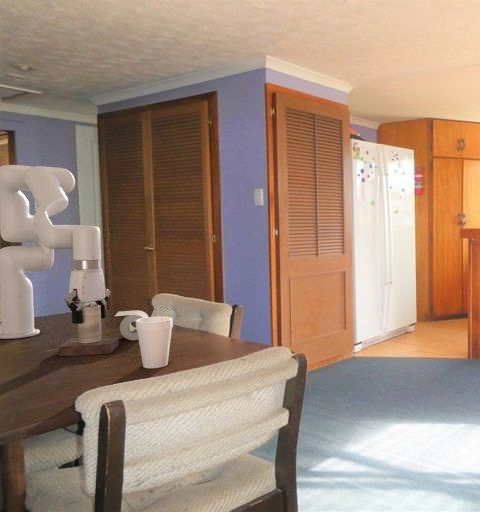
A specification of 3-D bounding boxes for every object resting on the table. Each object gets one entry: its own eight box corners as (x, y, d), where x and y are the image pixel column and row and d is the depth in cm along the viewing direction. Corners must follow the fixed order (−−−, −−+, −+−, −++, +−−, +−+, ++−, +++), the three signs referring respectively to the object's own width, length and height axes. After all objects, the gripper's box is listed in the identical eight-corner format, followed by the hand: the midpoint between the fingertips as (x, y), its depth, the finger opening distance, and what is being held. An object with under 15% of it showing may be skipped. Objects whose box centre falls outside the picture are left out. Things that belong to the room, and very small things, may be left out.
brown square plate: (58, 356, 157) (58, 346, 157) (70, 347, 169) (70, 337, 169) (110, 353, 161) (110, 343, 161) (118, 344, 173) (118, 335, 172)
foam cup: (144, 361, 152) (143, 316, 152) (177, 360, 153) (176, 316, 152) (131, 370, 143) (130, 322, 142) (166, 369, 144) (165, 322, 143)
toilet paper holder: (118, 310, 187) (164, 308, 192) (119, 334, 188) (164, 332, 193) (114, 316, 176) (162, 313, 181) (114, 342, 176) (163, 339, 181)
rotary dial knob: (99, 342, 163) (98, 306, 162) (75, 343, 161) (74, 307, 160) (103, 338, 169) (102, 303, 168) (80, 339, 167) (79, 303, 166)
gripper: (98, 263, 173) (100, 315, 174) (53, 267, 156) (55, 325, 157) (118, 263, 171) (119, 316, 172) (74, 268, 154) (76, 326, 155)
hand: (89, 320), depth 164 cm, fingers open, 8 cm apart
